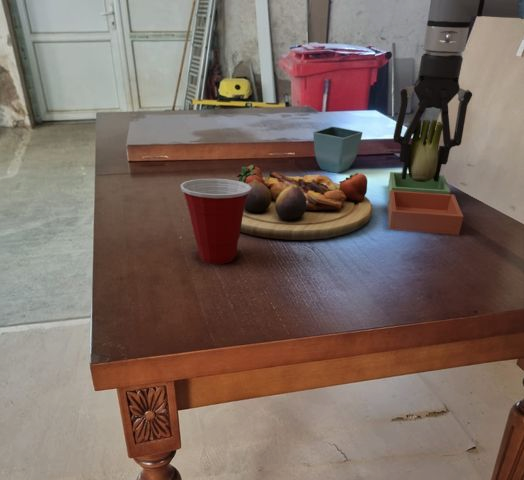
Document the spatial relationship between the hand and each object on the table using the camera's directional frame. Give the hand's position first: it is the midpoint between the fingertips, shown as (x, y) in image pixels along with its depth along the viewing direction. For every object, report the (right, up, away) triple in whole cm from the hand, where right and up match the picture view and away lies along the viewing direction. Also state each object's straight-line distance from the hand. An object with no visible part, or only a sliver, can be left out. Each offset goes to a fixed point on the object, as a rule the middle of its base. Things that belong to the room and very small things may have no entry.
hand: (419, 178), depth 111 cm
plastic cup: (-41, -21, -24) cm, 52 cm away
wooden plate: (-28, -9, -6) cm, 30 cm away
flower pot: (-15, +8, +19) cm, 26 cm away
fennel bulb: (0, -1, 0) cm, 1 cm away
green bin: (0, -3, +2) cm, 4 cm away
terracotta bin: (-2, -11, -9) cm, 15 cm away
